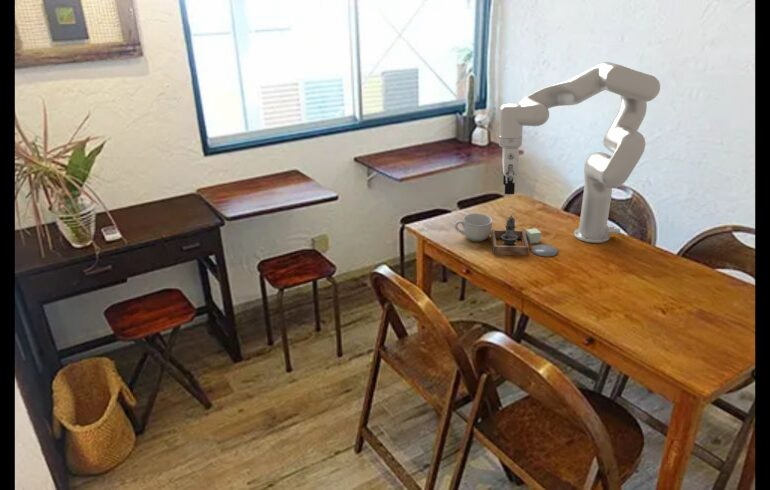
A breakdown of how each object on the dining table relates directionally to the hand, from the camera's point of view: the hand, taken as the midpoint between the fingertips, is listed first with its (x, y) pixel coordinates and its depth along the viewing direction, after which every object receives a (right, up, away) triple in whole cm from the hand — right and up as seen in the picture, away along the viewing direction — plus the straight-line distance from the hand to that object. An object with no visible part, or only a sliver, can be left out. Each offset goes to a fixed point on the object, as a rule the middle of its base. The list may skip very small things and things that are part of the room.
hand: (508, 189), depth 200 cm
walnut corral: (+2, -20, +8) cm, 21 cm away
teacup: (-10, -17, +15) cm, 25 cm away
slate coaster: (+13, -22, +3) cm, 26 cm away
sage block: (+11, -18, +11) cm, 24 cm away
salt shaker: (+2, -20, +8) cm, 22 cm away
